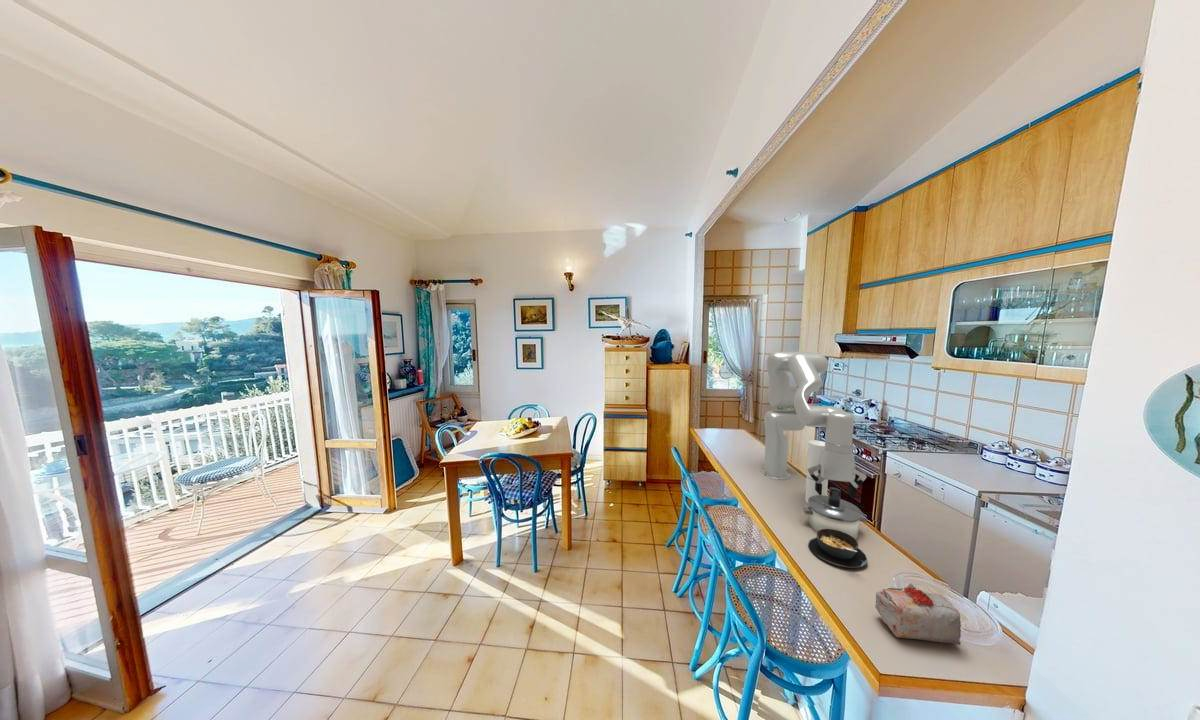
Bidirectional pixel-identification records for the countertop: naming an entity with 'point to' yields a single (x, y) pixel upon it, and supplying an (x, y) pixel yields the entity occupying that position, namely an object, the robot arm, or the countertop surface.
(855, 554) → the soup bowl
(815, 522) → the pot
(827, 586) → the countertop surface
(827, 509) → the lid
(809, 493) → the cylindrical container
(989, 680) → the countertop surface
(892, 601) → the food item
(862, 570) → the countertop surface
